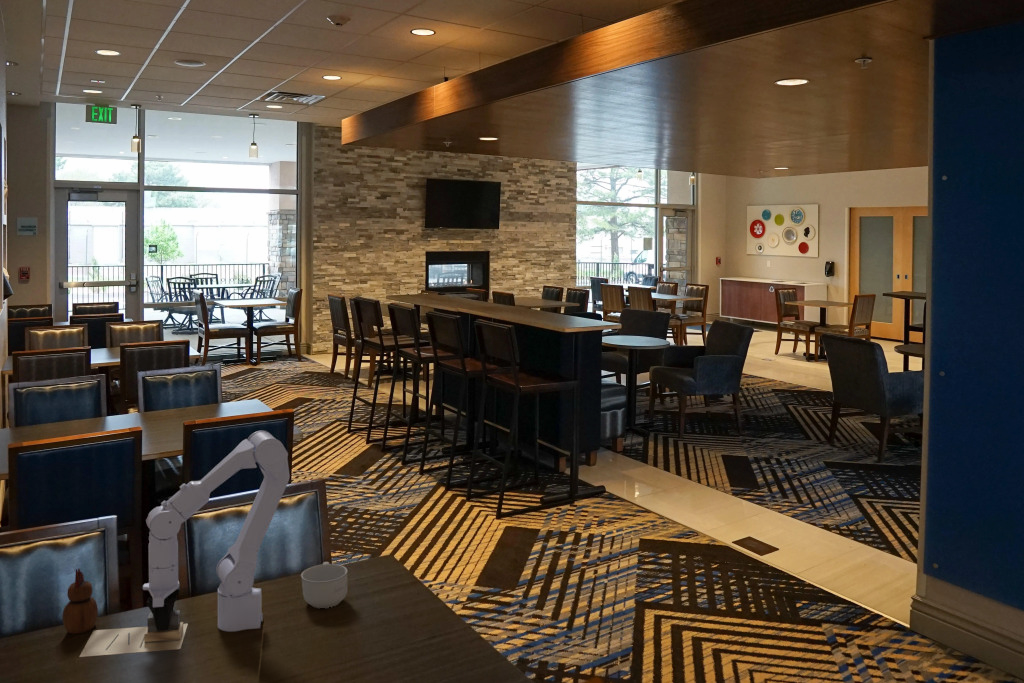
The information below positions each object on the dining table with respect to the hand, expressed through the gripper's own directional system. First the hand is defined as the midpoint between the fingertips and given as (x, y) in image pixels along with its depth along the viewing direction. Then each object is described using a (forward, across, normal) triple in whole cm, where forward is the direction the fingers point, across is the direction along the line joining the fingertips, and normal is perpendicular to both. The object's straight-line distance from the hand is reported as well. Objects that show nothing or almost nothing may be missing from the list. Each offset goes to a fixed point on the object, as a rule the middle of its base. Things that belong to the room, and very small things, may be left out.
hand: (164, 625), depth 174 cm
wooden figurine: (+4, -8, -18) cm, 20 cm away
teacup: (+4, -16, +34) cm, 38 cm away
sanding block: (+2, 0, 0) cm, 2 cm away
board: (+4, 0, -6) cm, 7 cm away
